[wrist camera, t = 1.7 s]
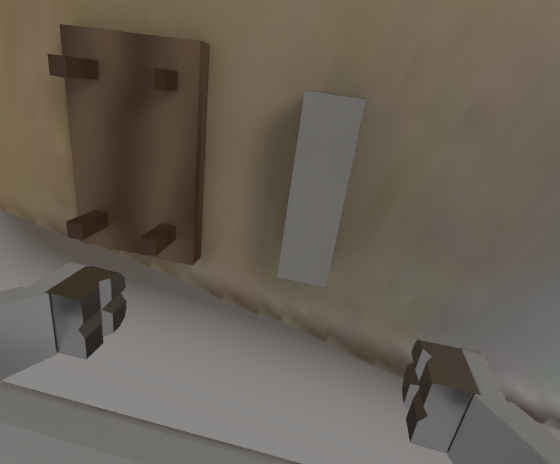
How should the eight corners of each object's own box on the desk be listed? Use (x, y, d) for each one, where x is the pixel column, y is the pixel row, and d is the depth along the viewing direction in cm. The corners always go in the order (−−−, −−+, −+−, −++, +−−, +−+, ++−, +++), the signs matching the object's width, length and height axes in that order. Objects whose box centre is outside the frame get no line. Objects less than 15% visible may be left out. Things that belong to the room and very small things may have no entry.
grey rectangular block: (364, 98, 24) (366, 99, 20) (330, 260, 28) (326, 288, 24) (313, 90, 24) (304, 90, 20) (288, 251, 29) (276, 277, 25)
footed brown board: (209, 44, 24) (178, 34, 20) (200, 257, 30) (175, 283, 26) (75, 27, 25) (21, 15, 21) (92, 234, 32) (52, 256, 27)
